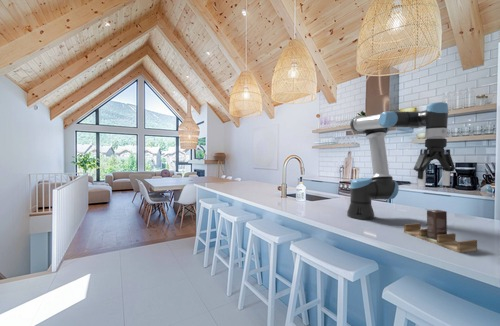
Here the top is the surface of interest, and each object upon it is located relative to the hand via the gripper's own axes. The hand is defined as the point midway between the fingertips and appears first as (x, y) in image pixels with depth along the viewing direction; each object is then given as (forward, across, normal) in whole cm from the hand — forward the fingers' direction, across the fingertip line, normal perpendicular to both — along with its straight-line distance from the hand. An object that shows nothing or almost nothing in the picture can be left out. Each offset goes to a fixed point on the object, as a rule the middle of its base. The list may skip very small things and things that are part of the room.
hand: (433, 186), depth 104 cm
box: (+23, -1, -3) cm, 23 cm away
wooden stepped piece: (+24, -1, -3) cm, 24 cm away
